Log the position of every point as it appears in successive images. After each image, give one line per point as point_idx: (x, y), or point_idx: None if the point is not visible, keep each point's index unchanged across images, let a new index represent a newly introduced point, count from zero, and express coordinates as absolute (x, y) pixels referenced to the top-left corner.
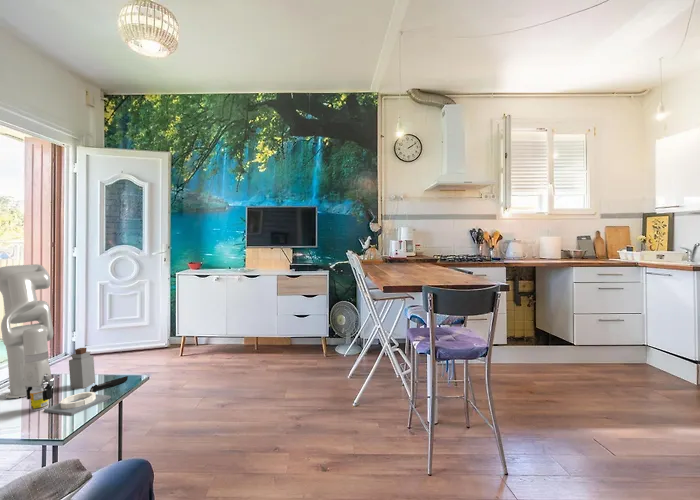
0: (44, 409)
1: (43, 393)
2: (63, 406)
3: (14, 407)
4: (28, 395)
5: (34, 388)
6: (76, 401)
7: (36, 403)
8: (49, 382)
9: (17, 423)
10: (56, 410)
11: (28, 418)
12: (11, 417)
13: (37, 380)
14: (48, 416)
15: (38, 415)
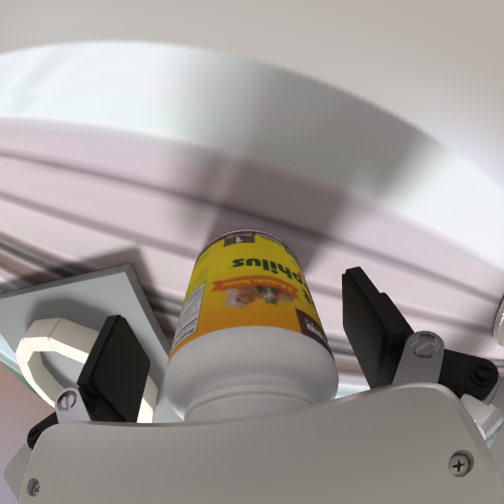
0: (124, 271)
1: (85, 365)
2: (43, 326)
3: (457, 203)
4: (357, 296)
5: (207, 403)
6: (27, 365)
7: (194, 275)
8: (22, 461)
9: (69, 101)
10: (42, 293)
11: (94, 165)
12: (262, 98)
13: (31, 500)
14: (33, 245)
15: (93, 220)
